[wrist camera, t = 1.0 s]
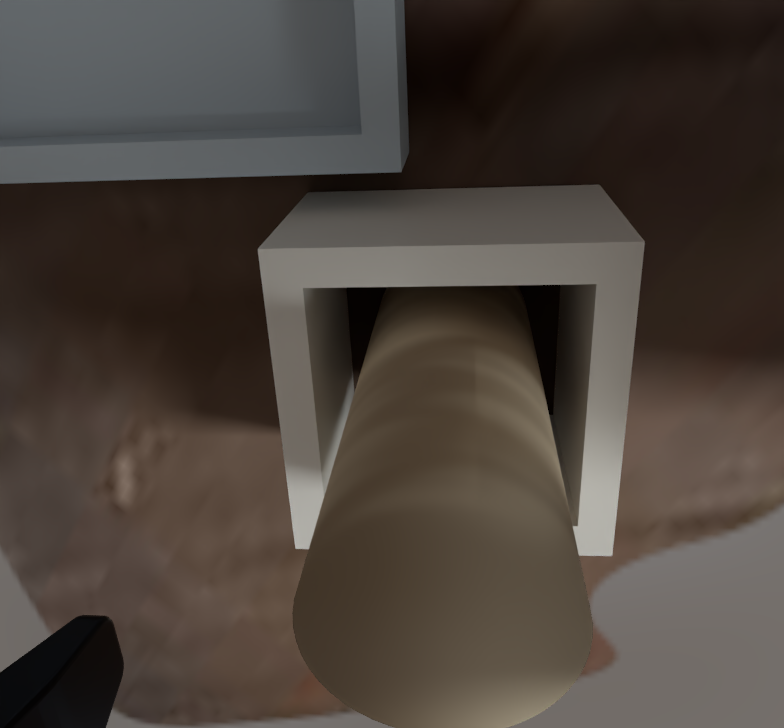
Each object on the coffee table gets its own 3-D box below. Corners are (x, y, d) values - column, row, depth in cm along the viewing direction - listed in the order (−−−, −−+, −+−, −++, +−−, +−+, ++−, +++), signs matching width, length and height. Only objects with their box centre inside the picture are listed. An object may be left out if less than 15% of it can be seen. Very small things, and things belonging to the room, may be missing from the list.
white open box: (599, 184, 18) (644, 241, 13) (580, 439, 21) (611, 556, 16) (307, 192, 19) (257, 249, 14) (331, 437, 22) (295, 548, 17)
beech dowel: (530, 249, 19) (604, 512, 9) (525, 389, 20) (582, 742, 10) (374, 252, 19) (276, 507, 9) (382, 389, 21) (307, 728, 11)
